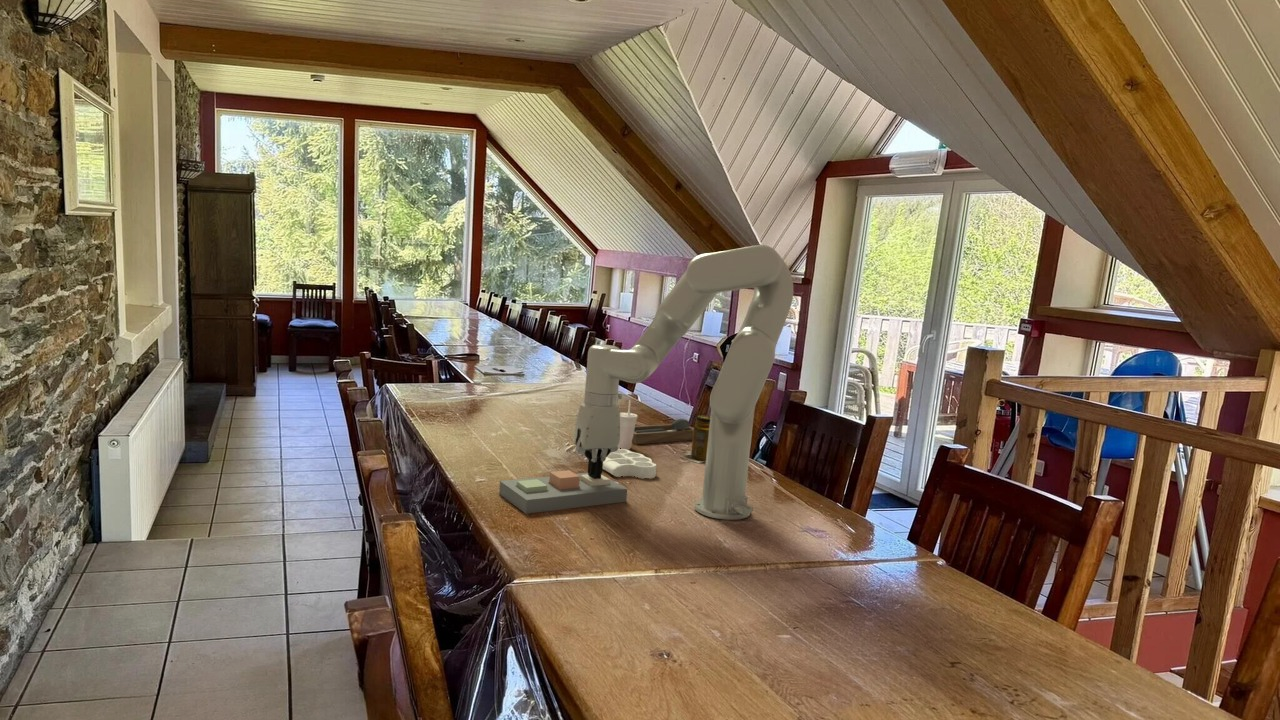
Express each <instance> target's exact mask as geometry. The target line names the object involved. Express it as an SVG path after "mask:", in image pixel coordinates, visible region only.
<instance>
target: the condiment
mask: <svg viewBox="0 0 1280 720" xmlns="http://www.w3.org/2000/svg"><path fill="white" fill-rule="evenodd" d="M710 417H711V415H705V414H700V415H696V417H695V423H694V425H693V428H694V430H693V440H691V441H692V442H691V444H692V445H691V451H690V452H691V453H690V454H686V455H680V456H679V457H680V458H682V459H685V460H688V461H690V462H693V463H697V464H701V463H706V454H707V444H708V435H709V426H710Z"/></svg>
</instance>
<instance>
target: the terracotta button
mask: <svg viewBox="0 0 1280 720" xmlns="http://www.w3.org/2000/svg"><path fill="white" fill-rule="evenodd" d="M577 474H578V473H575V472H574V471H572V470H570V469H568V470H559V471H557V470H556V471H550V472H549V476H550V477H549V484H551V485H552V486H554V487H555V488H557V489H558V490H561V489H570V488H579V482H580V476H578V475H577Z"/></svg>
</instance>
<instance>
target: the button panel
mask: <svg viewBox="0 0 1280 720" xmlns="http://www.w3.org/2000/svg"><path fill="white" fill-rule="evenodd" d="M576 474H577V475H578V476H580V475H586V474H588V472H581V473H579V472H578V473H576ZM601 475H603V473H602V474H601ZM549 477H550V475H549V476H540V477H539V476H538V477H527V478H514V479H507V480H500V481H499V492H498V494H499V495H500V496H501V497H502V498H503V499H506V501H508V502H510V503H511V504H512V505H513V506H515V507H516V508H517V509H518V510H520V511H522V512H523V513H524V514H526V515H528V514H536V513H542V512H543V513H544V512H545V513H546V512H551V511H553V512H554V511H560V510H569V509H577V508H585V507H592V506H594V507H595V506H600V505H608V504H609V505H610V504H616V503H617V504H618V503H627V497H628V488H627V487H625V486H623V485H621V484H619V483H618V482H616V481H614V480H612V479H610V478H609V479H610V484H608V485H599V486H589V485H587V484H585V483H584V482H582V481H580V482H579V488H570V489H561V490H558V489H557V488H555V487H554V486H552V485H551V484H549ZM534 479H538V480H539V481H541V482H543V483H544V484H546V485H547V491H542V492H533V493H524V492H523V491H522V490H520V489H519V488H517V481H524V480H534Z"/></svg>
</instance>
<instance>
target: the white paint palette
mask: <svg viewBox="0 0 1280 720" xmlns="http://www.w3.org/2000/svg"><path fill="white" fill-rule="evenodd" d="M602 470H604V471H605V472H608V473H609V474H610V475H613V477H616V478H621V476H623V477H634V476H635V477H634V478H637V477H638V478H639V479H644V478H649V479H654V478H655V477H656V474H657V464H656V463H654V462H653V460H652V458H650V457H647V456H645V455H644V454H642V453H640V452H634V451H631V450H630V449H620V448H618V450H617V451H615V452H612V453H610V454H609V455H608V456H607V457H606V460H605V461H604V462H603V469H602Z"/></svg>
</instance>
